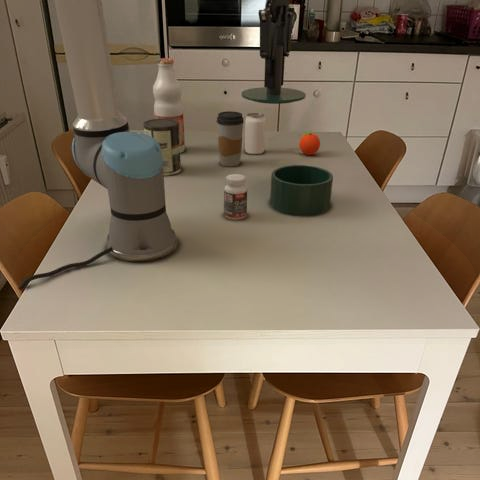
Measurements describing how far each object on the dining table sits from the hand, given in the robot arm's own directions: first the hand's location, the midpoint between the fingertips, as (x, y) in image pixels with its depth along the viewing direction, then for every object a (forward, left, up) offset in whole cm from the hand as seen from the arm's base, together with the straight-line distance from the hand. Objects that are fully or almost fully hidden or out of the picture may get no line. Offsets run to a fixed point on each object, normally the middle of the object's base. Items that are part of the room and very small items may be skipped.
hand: (273, 85), depth 131 cm
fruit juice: (+11, +45, -27) cm, 53 cm away
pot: (-7, -13, -27) cm, 31 cm away
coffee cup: (+11, +21, -27) cm, 36 cm away
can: (+26, +21, -27) cm, 43 cm away
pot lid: (0, 0, -2) cm, 2 cm away
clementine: (+34, +5, -27) cm, 44 cm away
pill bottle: (-23, -3, -27) cm, 35 cm away
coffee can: (-6, +34, -27) cm, 44 cm away
